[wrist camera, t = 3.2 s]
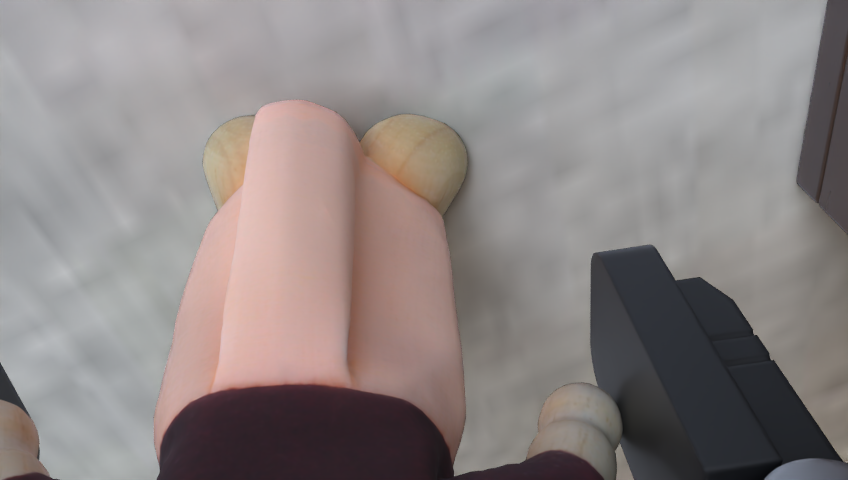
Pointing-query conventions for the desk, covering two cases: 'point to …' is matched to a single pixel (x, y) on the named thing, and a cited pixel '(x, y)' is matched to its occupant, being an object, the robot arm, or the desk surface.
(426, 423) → the grandmother figurine
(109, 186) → the desk surface
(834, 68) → the rack
